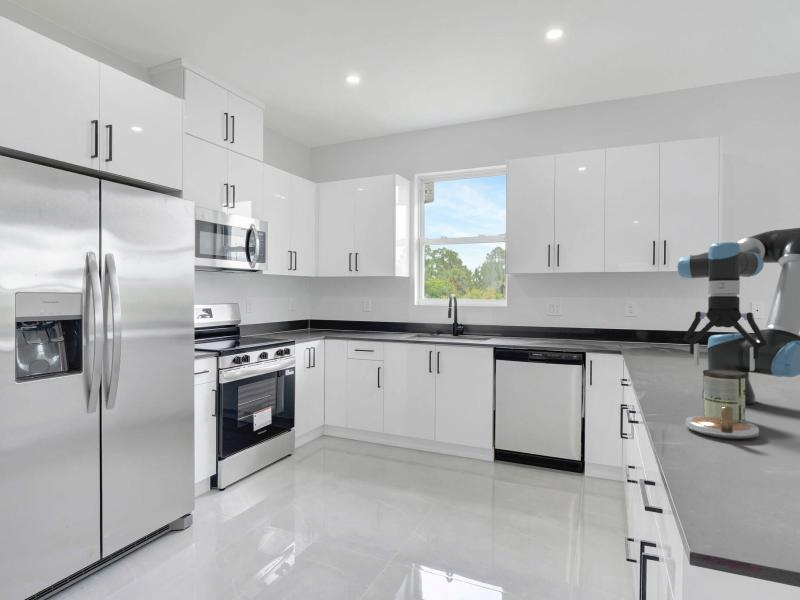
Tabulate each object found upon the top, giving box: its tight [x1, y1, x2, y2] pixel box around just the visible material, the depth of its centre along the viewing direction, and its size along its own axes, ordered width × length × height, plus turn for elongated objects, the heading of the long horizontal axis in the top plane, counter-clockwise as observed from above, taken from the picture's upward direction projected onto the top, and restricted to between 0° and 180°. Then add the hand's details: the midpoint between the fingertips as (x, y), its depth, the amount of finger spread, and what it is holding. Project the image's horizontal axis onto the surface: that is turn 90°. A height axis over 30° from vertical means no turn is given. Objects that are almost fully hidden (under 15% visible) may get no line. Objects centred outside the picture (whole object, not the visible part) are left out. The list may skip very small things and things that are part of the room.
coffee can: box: [702, 369, 746, 421], centre depth 136 cm, size 10×10×14 cm
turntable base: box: [698, 432, 748, 441], centre depth 123 cm, size 12×12×1 cm
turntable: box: [685, 406, 760, 439], centre depth 123 cm, size 17×16×8 cm
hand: (723, 367), depth 136 cm, fingers open, 13 cm apart
